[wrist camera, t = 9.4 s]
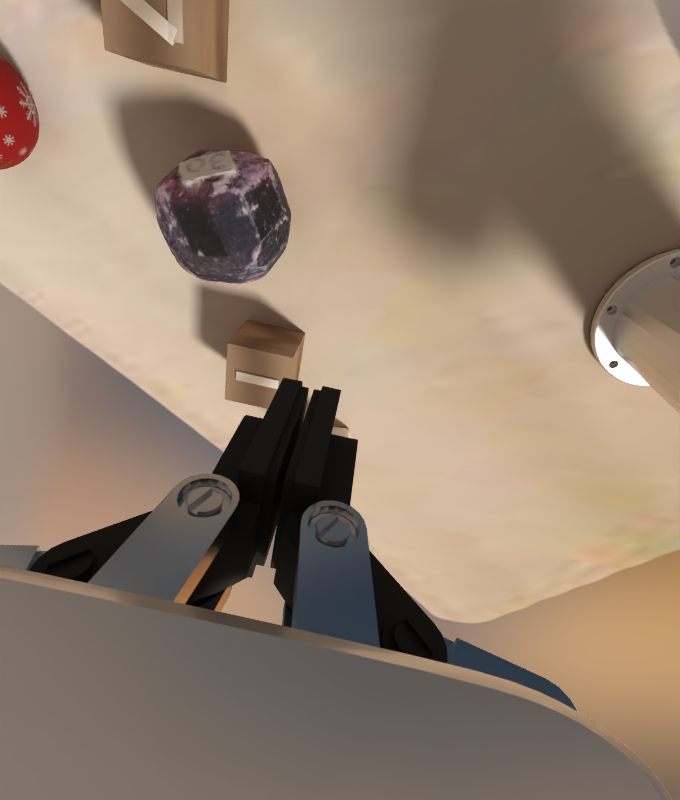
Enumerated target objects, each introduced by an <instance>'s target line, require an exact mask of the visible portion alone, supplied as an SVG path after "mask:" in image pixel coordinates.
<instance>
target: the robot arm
mask: <svg viewBox="0 0 680 800" xmlns="http://www.w3.org/2000/svg"><path fill="white" fill-rule="evenodd" d="M671 260H672V261H671ZM670 261H671V262H670ZM608 307H610V308H609V309H608ZM590 337H591V346H592V350H593V353H594V355H595V357H596V359H597V360H598V362H599V363H600V365H601V366H602V367H603V368H604V369H605V370H606V371H607V372H608V373H610V374H611V375H612V376H614V377H615V378H617V379H619V380H622V381H624V382H626V383H630V384H635V385H641V386H650V387H652V388H653V389H654V390H655V391H656V392H657V393H658V394H659V395H660V396H661V397H662V398H663V399H664V400H666V401H667V402H668V403H669V404H670V405H671V406H672V407H673V408H674V409H675V410H676V411H677V412H679V413H680V249H674V250H671V251H668V252H665V253H662V254H658V255H656V256H654V257H652V258H650V259H648V260H646V261H644V262H642V263H640V264H639V265H637V266H636V267H634V268H633V269H631V270H630V271H628V272H627V273H626V274H625V275H624V276H623V277H621V278H620V279H619V280H618V281H617V282H616V283H615V284H614V285H613V286H612V287H611V289H610V290H609V291H608V292H607V293H606V295H605V296H604V298H603V299H602V301H601V303H600V304H599V306H598V308H597V310H596V313H595V315H594V318H593V320H592V326H591V332H590ZM308 390H309V388H306V387H302V381H298V380H293V379H289V378H283V379H282V381H281V383H280V385H279V387H278V389H277V391H276V393H275V395H274V398H273V400H272V402H271V404H270V406H269V408H268V410H267V412H266V414H265V416H264V418H263V419H262V418H257V417H253V416H248V415H246V416H244V418H243V419H242V421H241V423H240V425H239V426H238V428H237V430H236V432H235V433H234V435H233V437H232V439H231V441H230V442H229V444H228V446H227V448H226V449H225V451H224V453H223V455H222V457H221V458H220V460H219V462H218V464H217V466H216V467H215V469H214V471H213V473H212V474H198V475H194V476H190V477H188V478H186V479H184V480H182V481H181V482H180V483H178V484H177V485H176V486H175V487H174V488H173V489H172V490H171V491H170V492H169V494H168V495H167V496H166V497H165V498H164V499H163V500H162V501H161V502H160V503H159V505H158V506H157V507H156V508H155V509H154V510H153V511H150V512H147V513H145V514H142V515H139V516H136V517H133V518H131V519H128V520H125V521H122V522H120V523H117V524H114V525H111V526H108V527H105V528H103V529H100V530H97V531H94V532H91V533H89V534H86V535H83V536H80V537H77V538H75V539H72V540H69V541H66V542H64V543H62V544H59V545H57V546H55V547H53V548H51V549H50V550H48V551H41V550H40V547H39V546H31V545H30V546H27V545H0V800H673V799H672V797H671V796H670V794H669V793H668V791H667V790H666V788H665V787H664V786H663V784H662V783H661V782H660V781H659V779H658V778H657V776H656V775H655V774H654V773H653V771H652V770H651V769H650V768H649V767H648V766H647V765H646V764H645V763H644V762H643V761H642V760H641V759H640V758H639V757H638V756H637V755H636V754H635V753H634V752H633V751H632V750H631V749H629V748H628V747H627V746H626V745H625V744H624V743H622V742H621V741H620V740H619V739H617V738H616V737H615V736H613V735H612V734H611V733H609V732H608V731H607V730H605V729H604V728H602V727H601V726H599V725H598V724H596V723H595V722H593V721H592V720H590V719H589V718H587V717H585V716H584V715H582V714H581V713H579V712H577V710H576V708H575V707H574V705H573V703H572V702H571V700H570V698H568V696H567V695H566V694H565V693H564V692H563V691H562V690H561V689H560V688H559V687H558V686H556V685H555V684H553V683H552V682H550V681H549V680H547V679H546V678H543V677H541V676H539V675H537V674H535V673H532V672H530V671H528V670H526V669H524V668H522V667H520V666H517V665H515V664H513V663H511V662H509V661H507V660H504V659H502V658H500V657H498V656H496V655H493V654H491V653H489V652H487V651H485V650H483V649H480V648H478V647H476V646H474V645H472V644H469V643H467V642H465V641H463V640H461V639H459V638H456V640H455V641H454V642H453V641H451V640H449V639H447V638H444V637H443V636H442V634H441V632H440V631H439V630H438V628H437V627H436V625H435V624H434V623H433V622H432V620H431V619H430V618H429V617H428V616H427V615H426V614H425V613H424V611H423V610H422V609H421V608H420V607H419V606H418V605H417V604H416V602H414V600H413V599H412V598H411V597H410V596H409V595H408V593H407V592H406V591H405V590H404V589H403V588H402V587H401V586H400V584H399V583H398V582H397V581H396V580H395V579H394V578H393V577H392V575H391V574H390V573H389V572H388V571H387V570H386V569H385V568H384V566H383V565H382V564H381V563H380V562H379V561H378V560H377V559H376V557H375V556H374V555H373V554H372V553H371V552H370V551H369V545H368V536H367V528H366V525H365V521H364V519H363V518H362V516H361V515H360V514H359V513H358V512H357V511H356V510H355V509H354V508H352V507H351V506H350V501H351V493H352V485H353V477H354V469H355V460H356V452H357V444H358V440H357V439H352V438H348V437H343V436H339V435H334V434H332V429H333V425H334V420H335V416H336V411H337V406H338V402H339V397H340V393H341V390H338V389H334V388H329V387H325V386H323V387H322V390H321V391H320V390H315V389H314V391H313V394H312V397H311V400H310V403H309V406H308V409H307V412H306V415H305V418H304V413H305V408H306V402H307V396H308ZM303 419H304V421H303ZM276 526H277V528H276ZM275 529H276V535H275V540H274V547H273V553H272V559H271V566H270V567H271V568H275V569H276V573H275V579H274V585H275V586H276V588H277V589H278V591H279V592H280V594H281V596H282V597H283V599H284V600H285V603H284V608H283V619H282V626H281V625H276V624H272V623H267V622H263V621H259V620H254V619H250V618H245V617H240V616H236V615H231V614H227V613H222V612H221V610H222V608H223V606H224V604H225V603H226V601H227V599H228V597H229V595H230V592H231V589H232V585H234V584H236V583H238V582H240V581H241V580H243V579H245V578H247V577H252V576H253V573H254V570H255V567H256V564H257V565H262V566H264V564H265V561H266V558H267V555H268V551H269V548H270V545H271V542H272V539H273V536H274V532H275Z"/></svg>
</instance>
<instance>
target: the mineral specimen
mask: <svg viewBox="0 0 680 800" xmlns="http://www.w3.org/2000/svg"><path fill="white" fill-rule="evenodd" d="M155 200H156V213H157V221H158V224H159V227H160V229H161V231H162V233H163V236H164V238H165V240H166V242H167V244H168V246H169V248H170V250H171V252H172V254H173V255H174V256H175V258H176V260H177V262H178V263H179V264H180V266H181V267H182V268H184V269H185V270H186V271H187V272H189V273H190V274H192V275H194V276H195V277H197V278H200V279H201V280H206V281H209V282H211V283H212V282H213V283H217V284H222V283H236V284H243V283H249V282H253V281H255V280H258V279H260V278H262V277H263V276H265V275H266V274H267V273H268V271H269V270H270V269H271V268H272V267H273V265H274V264H275V263H276V261H277V260H278V259H279V258H280V256H281V255H282V253H283V252H284V250H285V248H286V245H287V242H288V237H289V231H290V222H291V212H290V208H289V205H288V202H287V199H286V197H285V194H284V191H283V187H282V184H281V181H280V178H279V176H278V173H277V171H276V170H275V168H274V166H273V165H272V163H271V161H270V160H269V159H266V158H263V157H260V156H258V155H255V154H253V153H250V152H242V151H229V150H226V151H223V150H199V151H197V152H196V153H194V154H192V155H191V156H189V157H188V158H187V159H186V160H185V161H183V162H180V163H179V166H177V167H176V168H175V169H174V170H173V171H171V172H170V174H168V175H167V176H166V177H165V178H164V179H163V180H162V181H161V182H160V183H159V184H158V185H157V187H156V188H155Z"/></svg>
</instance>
